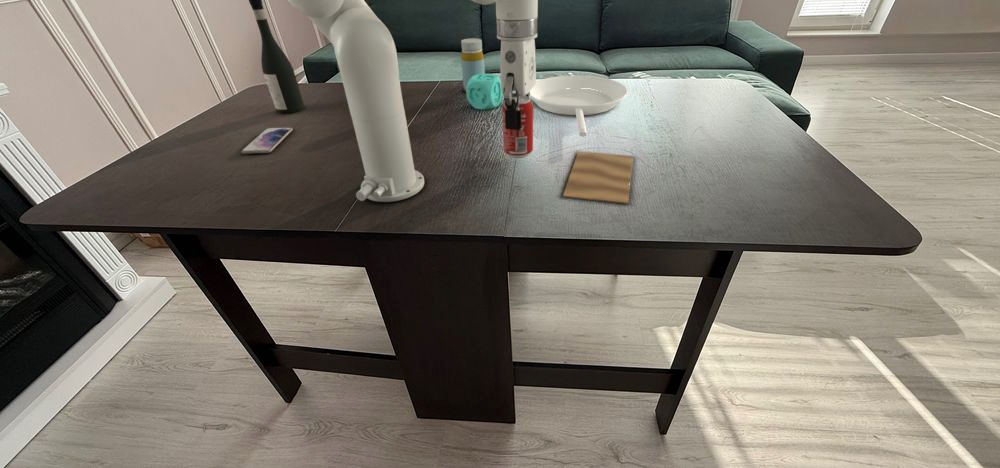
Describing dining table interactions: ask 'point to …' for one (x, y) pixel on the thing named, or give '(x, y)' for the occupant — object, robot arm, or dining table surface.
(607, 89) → the pan
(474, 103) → the decorative dice
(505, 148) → the beverage can
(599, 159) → the wooden trivet
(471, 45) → the bottle
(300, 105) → the wine bottle
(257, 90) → the dining table surface
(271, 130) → the smartphone
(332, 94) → the dining table surface
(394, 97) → the robot arm
